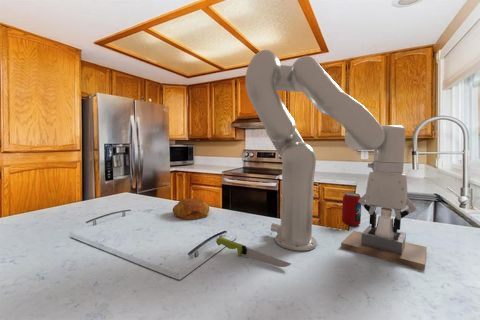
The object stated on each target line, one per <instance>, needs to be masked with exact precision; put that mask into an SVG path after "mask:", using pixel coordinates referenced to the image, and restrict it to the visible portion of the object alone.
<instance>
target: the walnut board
mask: <svg viewBox="0 0 480 320" xmlns="http://www.w3.org/2000/svg"><path fill="white" fill-rule="evenodd" d="M362 233H363V232H362V231H357V230H353V231H352V232H351V233H350V234H349V235H347V237H346V238H345V239H343V240H342V241H341V243H340V244H341V245H340V248H342V249H345V250H348V251H351V252H352V251H353V252H357V253H360V254H363V255H367V256H371V257H375V258H377V259H381V260H386V261H389V262H392V263H397V264H399V265H404V266H407V267H411V268H414V269H418V270H422V271H425V268H426V258H427V247H428V246H424V245H420V244H415V243H410V242H407V241H405V247H404V249H403V252H402V255H397V254H393V253H390V252H386V251H382V250H378V249H374V248H370V247H366V246H362V245H361V240H362Z"/></svg>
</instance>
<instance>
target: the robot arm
mask: <svg viewBox="0 0 480 320" xmlns="http://www.w3.org/2000/svg"><path fill="white" fill-rule="evenodd" d="M244 80H245V81H244V82H245V89H246V93H247V97H248V99H249V101H250V103H251V106H252V107H253V109H254V111H255V112H256V114H257V116H258V118H259V120H260V122H261V123H262V125H263V127H264V129H265V132H266V135H267V136H268V138H269V140H270V142H271V143H272V145H273V146H274V148H275V151H276V152H277V153H278V155H279V157H280V158H281V160H282V164H281V165H282V169H281V170H282V171H281V172H282V173H281V201H280V202H281V204H280V205H281V207H280V208H281V209H280V224H278V223H274V222H273V223H271V225H270V231H272V232H276V233H277V234H276V235H275V239H274V240H275V243H276V244H277V245H278V246H280V247H282V248H284V249H286V250H292V251H298V252H299V251H301V252H302V251H311V250H313V249H315V248H316V247H317V245H318V244H317V240H316V238H314V237H313V236H312V235H313V233H312V232H313V211H314V210H313V209H314V208H313V207H314V186H315V185H314V184H315V183H314V182H315V173H316V165H317V164H316V163H317V159H316V153H315V150H314V149H313V148H312V146H311V145H310V144H308V143H307V142H305V141H304V139H303V138H302V136H301V134H300V132H299V131H298V130H297V125H296V124H297V123H296V121H295V119H294V117H293V116H292V115H291V113H290V112H289V109H288V108H287V107H286V106H285V103H284V102H283V100H282V99H281V96H280V94H279V93H278V91H282V92H296V93H300V92H302V93H303V95H304V96H305V97H306V98H307V99H308V100H309V102H311V104H312V105H313V106H314V107H315V108H316V110H318V111H319V112H320V113H322V114H323V115H325V116H328V117H329V118H331V119H333V120H335V121H336V122H337V123H338V124H340V126H341V127H343V129H345V131H346V132H345V135H344V142H345V144H346V145H347V147H349V149H352V150H353V151H373V161H372V162H371V163H369V162H368V163H367V168H370V169H372V171H369V173H368V178H367V181H366V182H367V183H366V189H365V193H364V194H363V195H362V196H360V197H361V198H360V199H359V200H358V202H359V203H360V204H361V207H363V208H364V209H365V210H366V211H367V212H368V214H369V222H368V223H369V225H370V226H371V228H375V227H377V217H378V216H377V212H376V210H377V208H389V209H392V210H393V211H394V214H395V217H394V218H393V232H394V233H396V232H397V231H400V230H401V225H402V224H401V223H402V222H401V221H402V219H403V218H405V217H406V216H408V215H409V214H412V213H414V212H416V211H417V207H416V206H415V205H414V203H413V202H412V200H411V199H409V197H408V181H407V174H406V173H404V167H405V166H404V165H405V149H406V148H405V146H406V134H407V133H406V128H405V127H404V126H403V125H395V124H394V125H393V124H392V125H390V124H389V125H388V124H386V125H381V124H380V122H379V120H377V118H376V117H375V116H374V115H373V114H372V113H371V112H370V111H369V110H368V109H367V108H366V107H365V106H364V105H363V104H361V102H359V101H358V100H356V99H355V98H354V97H352V96H350V95H349V93H346V92H345V91H344V90H342V88H341V87H340V86H339V85H338V84H337V82H336V81H334V80H333V78H332V77H331V76H330V75H329V73H327V70H325V69H324V68H323V67H322V66H321V65H320V63H319V62H318V61H317V60H316V59H315V58H313V57H312V56H309V55H304V56H300V57H299V58H298V59H296V60H295V61H294V62H293V63H292V65H283V64H281V62H280V59H279V57H278V56H277V54H276V53H274V52H273V51H271V50H269V49H263V50H260V51H258V52H257V53H256V54H254V56H253V57H252V58H251V60H250V62H249V64H248V66H247V69H246V73H245V79H244ZM406 207H408V208H407V209H406Z"/></svg>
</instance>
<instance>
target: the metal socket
mask: <svg viewBox="0 0 480 320" xmlns="http://www.w3.org/2000/svg"><path fill="white" fill-rule="evenodd" d="M376 227H377V226H375V228H371V224H369V225H368V226H367V227H366V229H364V231H363V232H362V240H361V245H362V246H366V247H370V248H374V249H378V250H382V251H386V252H390V253H393V254H397V255H402V252H403V249H404V247H405V242H406V240H407V239H406V238H407V237H406V236H407V232H403V231H400V230H397V232H396V233H394V239H389V238H385V237H380V236H376V235H375V232H376Z"/></svg>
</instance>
